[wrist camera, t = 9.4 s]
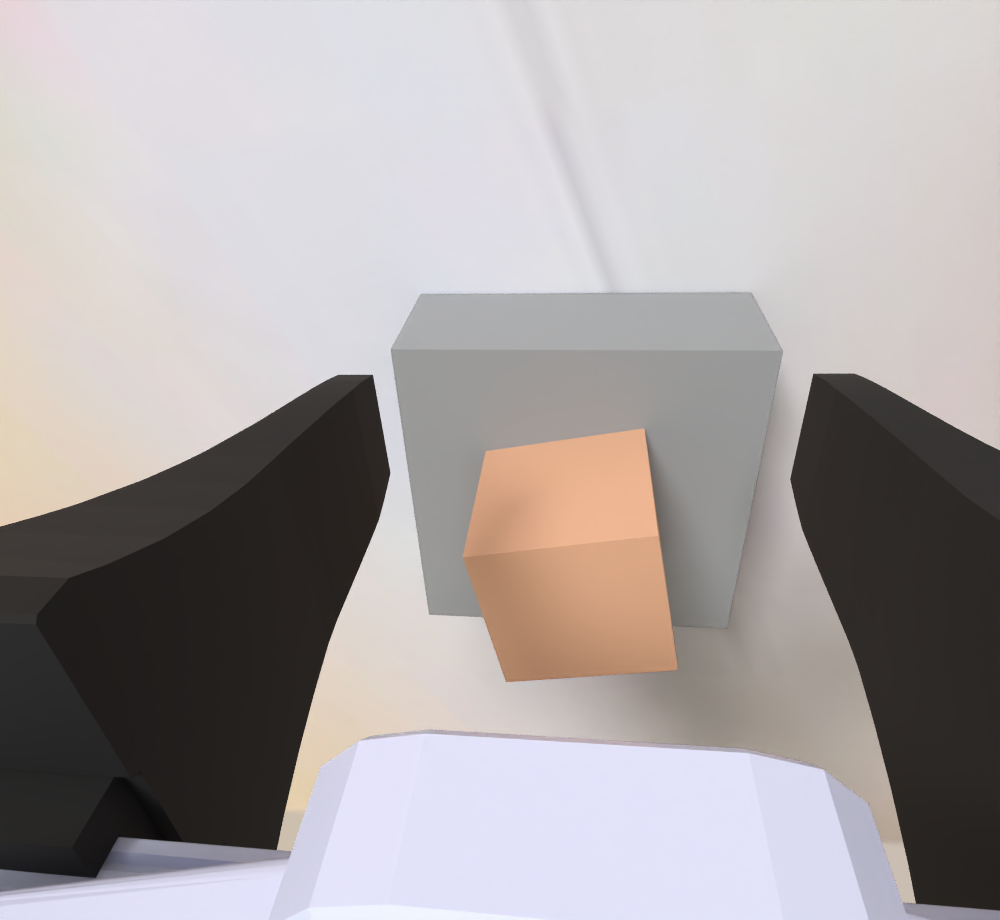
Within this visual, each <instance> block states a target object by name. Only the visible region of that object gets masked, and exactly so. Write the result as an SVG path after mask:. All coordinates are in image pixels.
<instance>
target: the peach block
mask: <svg viewBox="0 0 1000 920" xmlns="http://www.w3.org/2000/svg"><path fill="white" fill-rule="evenodd" d="M463 560H464V563H465V566H466V569H467V572H468V574H469V577H470V580H471V583H472V586H473V589H474V592H475V594H476V597H477V600H478V603H479V606H480V609H481V612H482V614H483V617H484V620H485V623H486V626H487V629H488V632H489V634H490V637H491V640H492V643H493V646H494V649H495V651H496V654H497V657H498V660H499V663H500V666H501V669H502V671H503V674H504V677H505V680H506V682H514V681H529V680H543V679H558V678H572V677H587V676H601V675H616V674H630V673H645V672H659V671H673V670H678V666H677V659H676V651H675V644H674V636H673V629H672V621H671V614H670V607H669V599H668V592H667V584H666V577H665V569H664V562H663V554H662V547H661V540H660V533H659V526H658V519H657V512H656V506H655V499H654V492H653V485H652V478H651V471H650V464H649V457H648V450H647V443H646V436H645V429H637V430H630V431H623V432H616V433H609V434H602V435H595V436H588V437H581V438H574V439H567V440H560V441H553V442H546V443H539V444H532V445H525V446H518V447H511V448H504V449H497V450H490V451H486V452H485V456H484V461H483V466H482V470H481V475H480V479H479V484H478V489H477V493H476V498H475V502H474V507H473V511H472V516H471V521H470V525H469V530H468V534H467V539H466V544H465V548H464V553H463Z"/></svg>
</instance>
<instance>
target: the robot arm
mask: <svg viewBox="0 0 1000 920" xmlns="http://www.w3.org/2000/svg"><path fill="white" fill-rule="evenodd" d="M389 477H390V468H389V463H388V457H387V452H386V446H385V440H384V435H383V429H382V424H381V418H380V412H379V407H378V401H377V396H376V390H375V384H374V379H373V375H337V376H335V377H333V378H330V379H329V380H327V381H325V382H323V383H321V384H319V385H318V386H316V387H314V388H312V389H311V390H309V391H307V392H306V393H304V394H302V395H301V396H299V397H298V398H296V399H294V400H293V401H291V402H289V403H288V404H286V405H285V406H283V407H281V408H280V409H278V410H276V411H275V412H273V413H272V414H270V415H268V416H267V417H265V418H263V419H262V420H260V421H258V422H257V423H255V424H253V425H252V426H250V427H248V428H246V429H244V430H243V431H241V432H239V433H237V434H235V435H234V436H232V437H230V438H228V439H227V440H225V441H223V442H221V443H219V444H218V445H216V446H214V447H212V448H210V449H209V450H207V451H205V452H203V453H201V454H199V455H197V456H195V457H193V458H191V459H189V460H187V461H185V462H182V463H180V464H178V465H176V466H174V467H171V468H169V469H167V470H165V471H162V472H160V473H158V474H156V475H153V476H151V477H149V478H146V479H144V480H142V481H139V482H136V483H134V484H131V485H128V486H126V487H123V488H120V489H117V490H115V491H112V492H109V493H107V494H104V495H101V496H98V497H96V498H93V499H90V500H87V501H85V502H82V503H79V504H76V505H73V506H70V507H67V508H63V509H60V510H57V511H54V512H50V513H47V514H44V515H41V516H37V517H34V518H30V519H26V520H23V521H19V522H16V523H12V524H8V525H5V526H1V527H0V920H1000V450H998V449H996V448H994V447H992V446H989V445H987V444H985V443H983V442H982V441H980V440H978V439H976V438H974V437H972V436H970V435H968V434H966V433H964V432H963V431H961V430H959V429H957V428H955V427H953V426H952V425H950V424H948V423H946V422H944V421H943V420H941V419H939V418H937V417H935V416H934V415H932V414H930V413H928V412H926V411H925V410H923V409H921V408H919V407H918V406H916V405H914V404H912V403H911V402H909V401H907V400H905V399H904V398H902V397H900V396H898V395H896V394H895V393H893V392H891V391H889V390H887V389H886V388H884V387H882V386H880V385H878V384H876V383H874V382H872V381H870V380H868V379H866V378H864V377H861V376H859V375H856V374H813V378H812V383H811V387H810V392H809V396H808V401H807V406H806V410H805V415H804V419H803V424H802V428H801V433H800V437H799V442H798V447H797V451H796V456H795V460H794V465H793V469H792V474H791V479H790V480H791V484H792V489H793V493H794V498H795V502H796V507H797V511H798V514H799V518H800V522H801V526H802V530H803V532H804V535H805V537H806V540H807V542H808V545H809V547H810V550H811V552H812V555H813V557H814V560H815V562H816V564H817V567H818V569H819V572H820V574H821V576H822V579H823V581H824V584H825V586H826V588H827V591H828V593H829V595H830V598H831V600H832V602H833V605H834V607H835V610H836V612H837V614H838V617H839V619H840V621H841V624H842V626H843V629H844V631H845V633H846V636H847V638H848V640H849V643H850V646H851V649H852V651H853V654H854V657H855V660H856V662H857V665H858V668H859V671H860V675H861V678H862V682H863V685H864V689H865V692H866V696H867V699H868V703H869V706H870V710H871V713H872V717H873V720H874V724H875V728H876V732H877V736H878V739H879V743H880V747H881V751H882V755H883V759H884V763H885V767H886V771H887V774H888V778H889V782H890V786H891V790H892V795H893V799H894V804H895V808H896V812H897V817H898V821H899V826H900V830H901V834H902V839H903V843H904V848H905V852H906V856H907V860H908V865H909V870H910V876H911V880H912V886H913V891H914V896H915V901H916V904H914V903H902V900H901V897H900V894H899V892H898V888H897V885H896V883H895V880H894V877H893V874H892V871H891V868H890V865H889V862H888V859H887V856H886V853H885V850H884V848H883V845H882V842H881V839H880V836H879V833H878V830H877V827H876V824H875V821H874V818H873V815H872V812H871V810H870V807H869V804H868V803H867V802H865V801H864V800H863V799H861V798H860V797H859V796H857V795H856V794H855V793H854V792H852V791H851V790H850V789H848V788H847V787H846V786H844V785H843V784H842V783H840V782H839V781H838V780H836V779H835V778H834V777H833V776H831V775H830V774H829V773H827V772H826V771H825V770H823V769H821V768H819V767H817V766H815V765H813V764H810V763H807V762H803V761H798V760H794V759H789V758H785V757H780V756H776V755H771V754H767V753H762V752H758V751H753V750H748V749H744V748H728V747H711V746H695V745H678V744H661V743H645V742H628V741H611V740H595V739H578V738H561V737H545V736H528V735H511V734H495V733H478V732H462V731H445V730H421V731H412V732H403V733H394V734H385V735H376V736H370V737H368V738H365V739H362V740H360V741H358V742H357V743H355V744H354V745H352V746H351V747H349V748H348V749H346V750H345V751H343V752H342V753H340V754H339V755H337V756H336V757H335V758H333V759H332V760H330V761H329V762H327V763H326V764H324V765H323V766H321V768H320V771H319V774H318V777H317V779H316V782H315V785H314V788H313V791H312V794H311V797H310V800H309V803H308V806H307V809H306V811H305V814H304V817H303V820H302V823H301V826H300V829H299V832H298V835H297V838H296V840H295V843H294V846H293V849H292V851H279V850H277V845H278V841H279V836H280V830H281V826H282V822H283V817H284V812H285V808H286V804H287V800H288V795H289V791H290V787H291V782H292V778H293V774H294V770H295V765H296V761H297V757H298V753H299V748H300V745H301V741H302V737H303V733H304V729H305V726H306V722H307V718H308V714H309V710H310V707H311V703H312V699H313V695H314V692H315V688H316V685H317V681H318V678H319V674H320V671H321V667H322V664H323V661H324V657H325V654H326V650H327V647H328V644H329V641H330V638H331V635H332V632H333V630H334V627H335V624H336V621H337V619H338V617H339V614H340V612H341V609H342V607H343V605H344V602H345V600H346V598H347V595H348V593H349V590H350V588H351V586H352V583H353V581H354V579H355V576H356V574H357V572H358V569H359V567H360V564H361V562H362V560H363V557H364V555H365V553H366V550H367V548H368V545H369V543H370V540H371V538H372V536H373V533H374V531H375V528H376V526H377V523H378V520H379V517H380V513H381V510H382V506H383V502H384V498H385V494H386V490H387V485H388V481H389Z"/></svg>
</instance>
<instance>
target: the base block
mask: <svg viewBox="0 0 1000 920" xmlns="http://www.w3.org/2000/svg"><path fill="white" fill-rule="evenodd" d="M782 353H783V350H782V348H781V346H780V344H779V343H778V341H777V339H776V337H775V335H774V333H773V331H772V330H771V328H770V326H769V324H768V322H767V320H766V319H765V317H764V315H763V313H762V311H761V309H760V307H759V306H758V304H757V302H756V300H755V298H754V296H753V295H752V293H586V294H421V295H420V296H419V298H418V300H417V302H416V304H415V306H414V307H413V309H412V311H411V313H410V315H409V317H408V319H407V320H406V322H405V324H404V326H403V328H402V330H401V331H400V333H399V335H398V337H397V339H396V341H395V342H394V344H393V346H392V348H391V354H392V361H393V368H394V375H395V382H396V389H397V396H398V403H399V409H400V416H401V423H402V430H403V437H404V444H405V451H406V458H407V465H408V472H409V478H410V485H411V492H412V499H413V506H414V513H415V520H416V527H417V534H418V541H419V548H420V554H421V561H422V568H423V575H424V582H425V589H426V596H427V603H428V610H429V615H449V616H471V617H483V614H482V612H481V609H480V606H479V603H478V600H477V597H476V594H475V592H474V589H473V586H472V583H471V580H470V577H469V574H468V572H467V569H466V566H465V563H464V560H463V553H464V548H465V544H466V539H467V534H468V530H469V525H470V521H471V516H472V511H473V507H474V502H475V498H476V493H477V489H478V484H479V479H480V475H481V470H482V466H483V461H484V456H485V452H486V451H490V450H497V449H504V448H511V447H518V446H525V445H532V444H539V443H546V442H553V441H560V440H567V439H574V438H581V437H588V436H595V435H602V434H609V433H616V432H623V431H630V430H637V429H645V436H646V443H647V450H648V457H649V464H650V471H651V478H652V485H653V492H654V499H655V506H656V512H657V519H658V526H659V533H660V540H661V547H662V554H663V562H664V569H665V577H666V584H667V592H668V599H669V607H670V614H671V621H672V626H686V627H707V628H727V626H728V621H729V616H730V611H731V606H732V601H733V596H734V591H735V586H736V581H737V576H738V571H739V566H740V561H741V556H742V551H743V546H744V541H745V536H746V532H747V527H748V522H749V517H750V512H751V507H752V502H753V497H754V492H755V487H756V482H757V477H758V472H759V467H760V462H761V457H762V452H763V447H764V442H765V437H766V432H767V427H768V422H769V417H770V412H771V407H772V402H773V397H774V393H775V388H776V383H777V378H778V373H779V368H780V363H781V358H782Z"/></svg>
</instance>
